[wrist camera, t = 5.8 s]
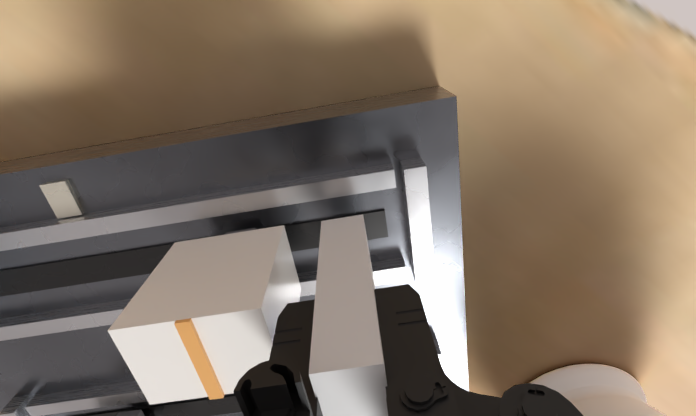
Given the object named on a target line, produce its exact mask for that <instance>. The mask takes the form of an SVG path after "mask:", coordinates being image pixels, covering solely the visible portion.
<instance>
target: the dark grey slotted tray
mask: <svg viewBox="0 0 696 416" xmlns="http://www.w3.org/2000/svg"><path fill="white" fill-rule="evenodd" d="M362 214H363V217H364V223H365V229H366V235H367V241H368V247H369V253H370V258H371V264H372V270H373V276H374V283H375V289H379V288H386V287H392V286H399V285H405V284H409V285H410V286H411V287H412V288H413V289H414V290H415V291H416V292H417V293H419V294H420V298H421V301H422V304H423V307H424V311H425V314H426V317H427V321H428V324H429V327H430V330H431V333H432V337H433V340H434V343H435V346H436V350H437V353H438V356H439V360H440V363H441V366H442V368H443V370H444V372H445V374H446V375H447V376H448V378H449V379H450V380H451V381H452V382H453V383H455V384H456V385H457V386H459V387H461V388H463V389H465V390H467V391H469V383H468V359H467V336H466V312H465V288H464V265H463V241H462V217H461V194H460V170H459V146H458V123H457V99H456V96H455V95H454V94H452V93H450V92H448V91H447V90H445V89H443V88H442V87H440V86H437V87H431V88H425V89H420V90H414V91H408V92H402V93H397V94H391V95H385V96H379V97H374V98H368V99H362V100H356V101H350V102H345V103H339V104H333V105H327V106H322V107H316V108H310V109H304V110H299V111H293V112H287V113H281V114H275V115H270V116H264V117H258V118H252V119H247V120H241V121H235V122H229V123H224V124H218V125H212V126H206V127H201V128H195V129H189V130H183V131H177V132H172V133H166V134H160V135H154V136H149V137H143V138H137V139H131V140H126V141H120V142H114V143H108V144H103V145H97V146H91V147H85V148H79V149H74V150H68V151H62V152H56V153H51V154H45V155H39V156H33V157H28V158H22V159H16V160H10V161H4V162H0V416H117V414H118V413H119V412H126V411H133V410H142V412H143V413H144V415H145V416H244V415H243V413H242V411H241V408H240V406H239V404H238V401H237V399H236V397H235V394H234V393H233V394H225V395H224V398H220V399H212V400H210V399H209V397H203V398H196V399H188V400H181V401H174V402H166V403H159V404H151V405H150V404H149V402H148V401H147V399H146V397H145V395H144V394H143V392H142V390H141V388H140V387H139V385H138V383H137V381H136V380H135V378H134V376H133V374H132V373H131V371H130V369H129V367H128V366H127V364H126V362H125V360H124V359H123V357H122V355H121V353H120V352H119V350H118V348H117V347H116V345H115V343H114V341H113V340H112V338H111V336H110V334H109V333H108V329H109V328H110V327H111V325H112V324H113V323H114V322H115V320H116V319H117V318H118V316H119V315H120V314H121V312H122V311H123V310H124V308H125V307H126V306H127V304H128V303H129V302H130V301H131V299H132V298H133V297H134V295H135V294H136V293H137V291H138V290H139V289H140V287H141V286H142V285H143V284H144V282H145V281H146V280H147V278H148V277H149V276H150V274H151V273H152V272H153V270H154V269H155V268H156V266H157V265H158V264H159V263H160V261H161V260H162V259H163V257H164V256H165V255H166V253H167V252H168V251H169V249H170V248H171V247H172V246H173V244H174V243H175V242H181V241H187V240H193V239H200V238H206V237H212V236H219V235H225V233H226V232H230V231H237V230H243V229H249V228H256V229H263V228H269V227H276V226H282V225H284V227H285V230H286V234H287V238H288V242H289V245H290V249H291V253H292V256H293V260H294V264H295V267H296V271H297V275H298V279H299V282H300V286H301V294H300V301H299V302H301V301H307V300H314V299H315V291H316V279H317V267H318V255H319V243H320V231H321V221H325V220H331V219H337V218H343V217H350V216H356V215H362Z"/></svg>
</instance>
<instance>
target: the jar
mask: <svg viewBox="0 0 696 416" xmlns="http://www.w3.org/2000/svg"><path fill="white" fill-rule="evenodd" d="M530 383H531V384H538V385H544V386H546V387H548V388H551V389H553V390H555V391H557V392H559V393H560V394H561V395H563V396H564V397H565V398H566V399H568V400H569V401H570V402H571V403H572V404H573V405H574V406H575V407H576V408H577V409H578V410H579V411H580V412H581V413H582V415H583V416H667V415H665V414H664V413H662V412H660V411H659V410H657V409H655V408H654V407H652V406H650V405H648V404H647V399H646V396H645V393H644V391H643V389H642V387H641V385H640V384H639V382H638V381H637V380H636V379H635V378H634V377H633V376H631V375H630V374H628V373H627V372H625V371H623V370H621V369H618V368H616V367H612V366H608V365H602V364H578V365H571V366H566V367H562V368H559V369H555V370H553V371H550V372H548V373H546V374H543V375H541V376H540V377H538V378H536V379H534V380H533V381H531V382H530Z"/></svg>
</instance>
